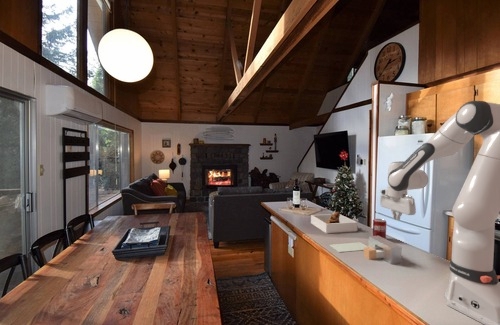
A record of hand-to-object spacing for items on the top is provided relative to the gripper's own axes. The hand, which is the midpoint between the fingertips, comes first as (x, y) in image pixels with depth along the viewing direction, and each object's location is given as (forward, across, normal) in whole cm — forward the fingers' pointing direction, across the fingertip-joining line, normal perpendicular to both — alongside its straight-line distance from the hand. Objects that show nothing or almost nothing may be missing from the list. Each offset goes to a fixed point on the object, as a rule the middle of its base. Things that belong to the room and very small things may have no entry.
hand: (396, 219), depth 128 cm
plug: (+19, 0, +8) cm, 21 cm away
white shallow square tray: (+19, +50, +7) cm, 54 cm away
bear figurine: (+20, +47, +9) cm, 52 cm away
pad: (+19, +14, +17) cm, 29 cm away
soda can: (+19, +22, -8) cm, 30 cm away
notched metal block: (+19, 0, +7) cm, 20 cm away
